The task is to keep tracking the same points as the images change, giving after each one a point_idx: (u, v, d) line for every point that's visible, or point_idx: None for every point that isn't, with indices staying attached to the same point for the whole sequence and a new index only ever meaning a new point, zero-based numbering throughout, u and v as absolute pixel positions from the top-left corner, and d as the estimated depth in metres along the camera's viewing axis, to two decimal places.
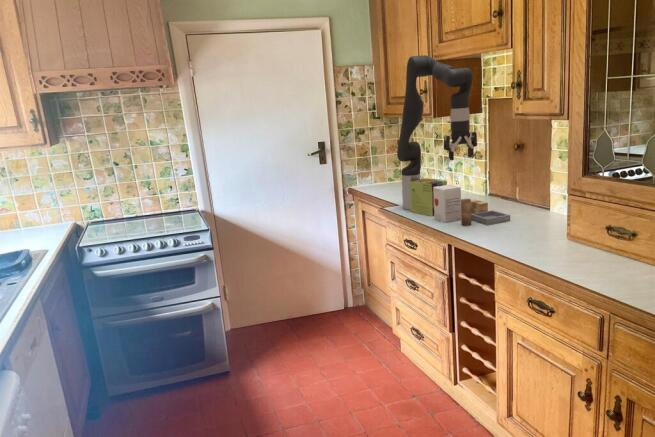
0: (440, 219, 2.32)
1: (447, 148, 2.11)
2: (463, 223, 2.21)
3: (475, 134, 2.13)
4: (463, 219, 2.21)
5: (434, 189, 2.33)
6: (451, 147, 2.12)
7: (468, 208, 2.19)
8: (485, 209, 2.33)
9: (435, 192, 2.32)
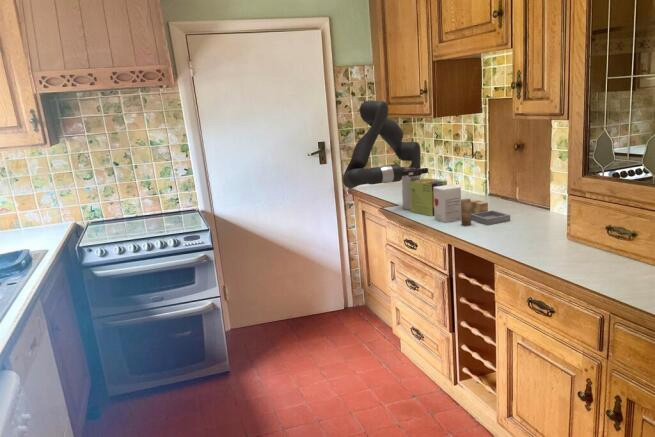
0: (440, 219, 2.32)
1: None
2: (463, 223, 2.21)
3: None
4: (463, 219, 2.21)
5: (434, 189, 2.33)
6: None
7: (468, 208, 2.19)
8: (485, 209, 2.33)
9: (435, 192, 2.32)
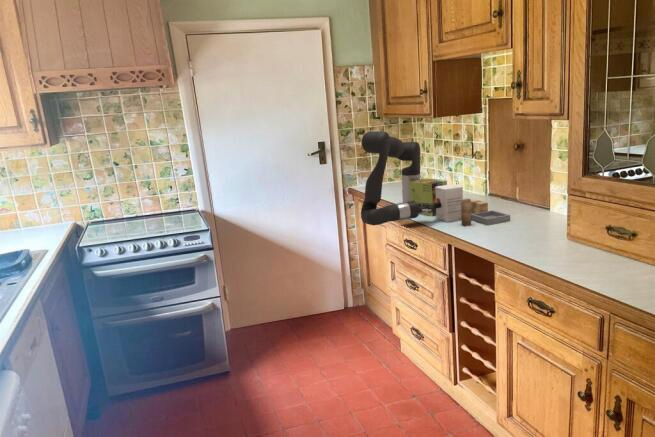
0: (442, 219, 2.32)
1: None
2: (463, 223, 2.21)
3: None
4: (463, 219, 2.21)
5: (436, 189, 2.33)
6: None
7: (468, 208, 2.19)
8: (485, 209, 2.33)
9: (437, 192, 2.32)
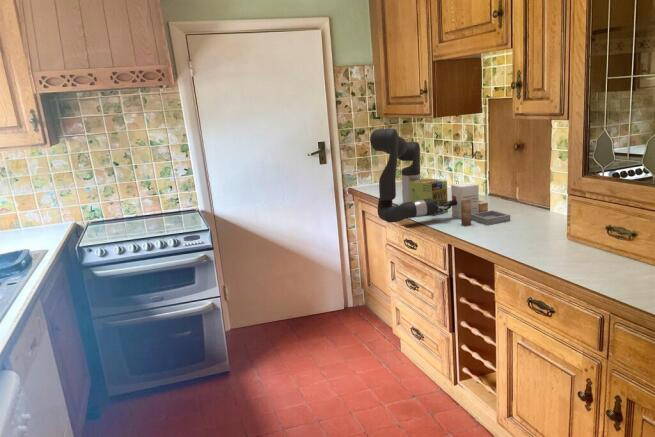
0: (458, 216, 2.34)
1: None
2: (463, 223, 2.21)
3: None
4: (463, 219, 2.21)
5: (452, 186, 2.35)
6: None
7: (468, 208, 2.19)
8: (485, 209, 2.33)
9: (453, 189, 2.35)
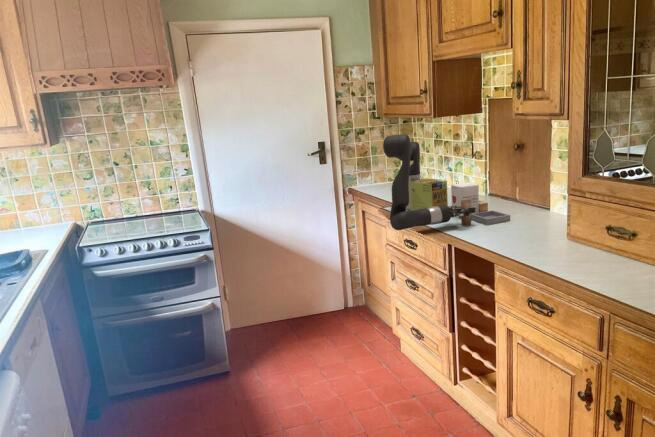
0: None
1: None
2: (463, 223, 2.21)
3: None
4: (463, 219, 2.21)
5: (452, 186, 2.35)
6: None
7: None
8: (485, 209, 2.33)
9: (453, 189, 2.35)
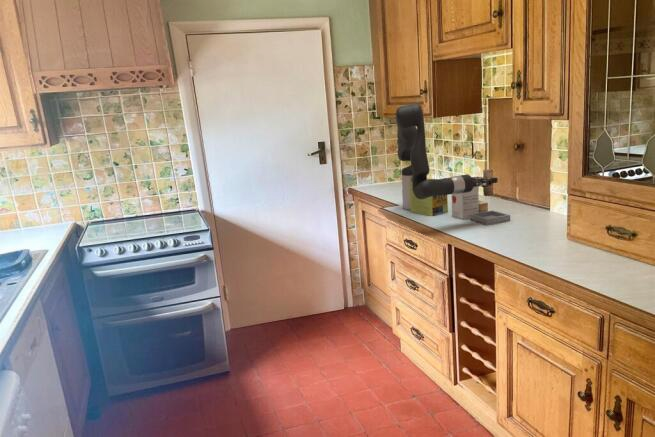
0: (458, 216, 2.34)
1: None
2: (485, 193, 2.22)
3: None
4: (485, 189, 2.22)
5: None
6: None
7: None
8: (485, 209, 2.33)
9: None
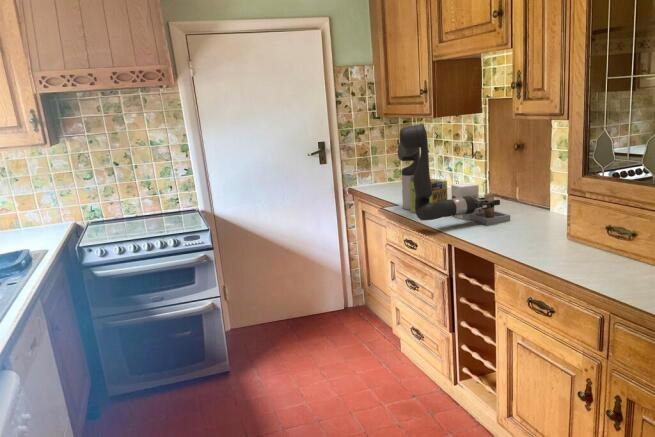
0: (458, 216, 2.34)
1: None
2: (486, 217, 2.25)
3: None
4: (487, 213, 2.24)
5: (452, 186, 2.35)
6: None
7: None
8: None
9: (453, 189, 2.35)
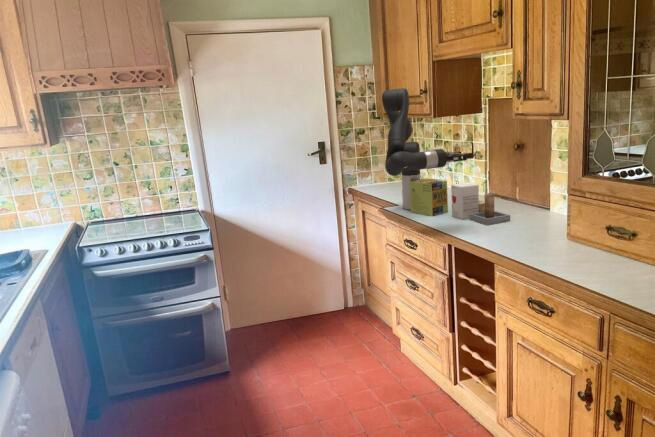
0: (458, 216, 2.34)
1: None
2: (487, 217, 2.25)
3: None
4: (487, 213, 2.24)
5: (452, 186, 2.35)
6: None
7: (492, 203, 2.23)
8: None
9: (453, 189, 2.35)
